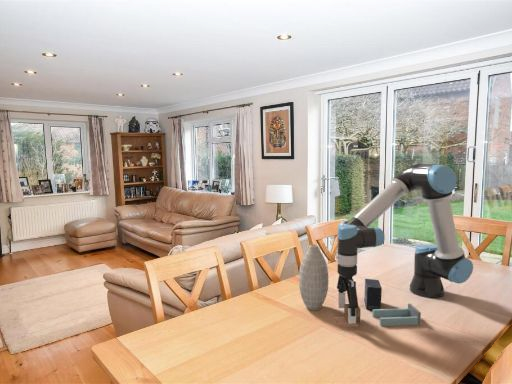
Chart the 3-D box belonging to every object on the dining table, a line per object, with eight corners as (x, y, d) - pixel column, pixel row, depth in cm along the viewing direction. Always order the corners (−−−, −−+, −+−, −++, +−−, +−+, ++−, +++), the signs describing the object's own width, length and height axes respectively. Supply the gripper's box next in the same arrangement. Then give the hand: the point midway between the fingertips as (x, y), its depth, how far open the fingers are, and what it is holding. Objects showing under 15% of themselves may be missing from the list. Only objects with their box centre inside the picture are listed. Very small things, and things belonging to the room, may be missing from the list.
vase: (331, 304, 160) (331, 243, 157) (324, 316, 148) (324, 250, 145) (303, 299, 165) (304, 240, 162) (295, 310, 154) (295, 247, 151)
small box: (381, 311, 152) (382, 287, 151) (366, 310, 154) (366, 286, 153) (378, 301, 163) (379, 279, 162) (363, 300, 164) (364, 278, 163)
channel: (409, 315, 148) (410, 303, 148) (420, 324, 140) (420, 312, 139) (372, 316, 148) (372, 304, 147) (380, 326, 139) (381, 314, 139)
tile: (351, 317, 147) (351, 316, 146) (357, 326, 140) (357, 324, 140) (335, 318, 146) (335, 316, 146) (340, 326, 139) (340, 325, 139)
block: (356, 317, 145) (356, 303, 145) (360, 323, 140) (360, 308, 140) (344, 317, 145) (344, 303, 145) (347, 323, 140) (348, 309, 140)
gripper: (329, 255, 153) (329, 302, 155) (347, 275, 128) (347, 330, 130) (346, 254, 153) (346, 301, 155) (368, 274, 128) (367, 330, 131)
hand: (346, 315), depth 143 cm, fingers open, 13 cm apart
